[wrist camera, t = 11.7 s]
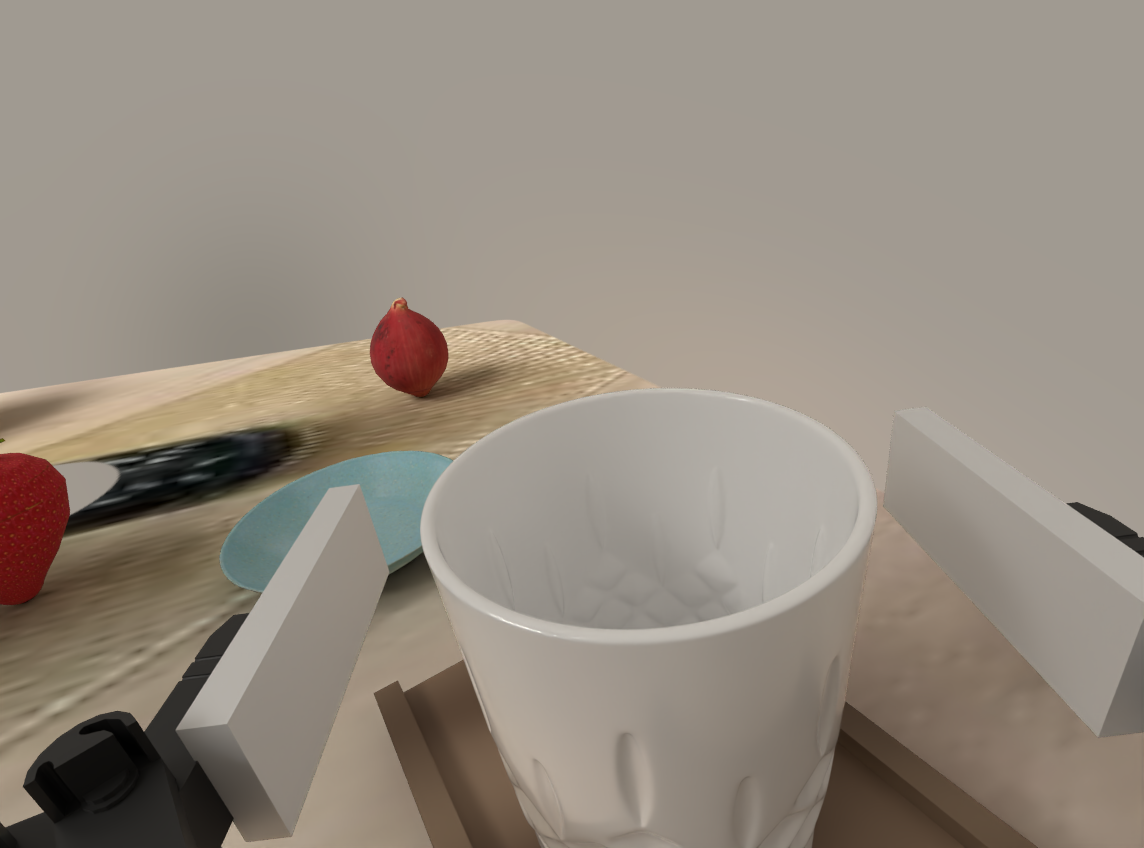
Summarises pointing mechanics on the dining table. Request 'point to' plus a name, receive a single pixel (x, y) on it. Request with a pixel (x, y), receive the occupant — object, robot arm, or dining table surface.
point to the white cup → (658, 612)
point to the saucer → (278, 520)
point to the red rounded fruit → (408, 350)
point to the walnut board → (509, 844)
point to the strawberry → (29, 523)
